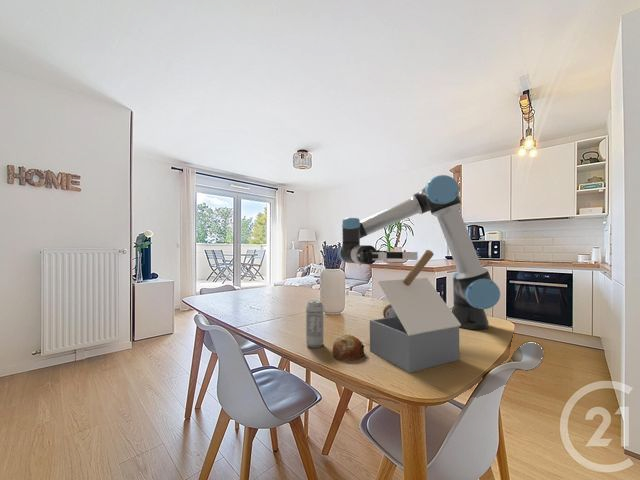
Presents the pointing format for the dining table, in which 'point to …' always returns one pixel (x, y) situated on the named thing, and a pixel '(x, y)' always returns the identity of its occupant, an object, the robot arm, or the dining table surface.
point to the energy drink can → (314, 323)
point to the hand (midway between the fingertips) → (401, 256)
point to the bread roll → (348, 347)
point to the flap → (418, 302)
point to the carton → (413, 345)
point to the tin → (389, 312)
